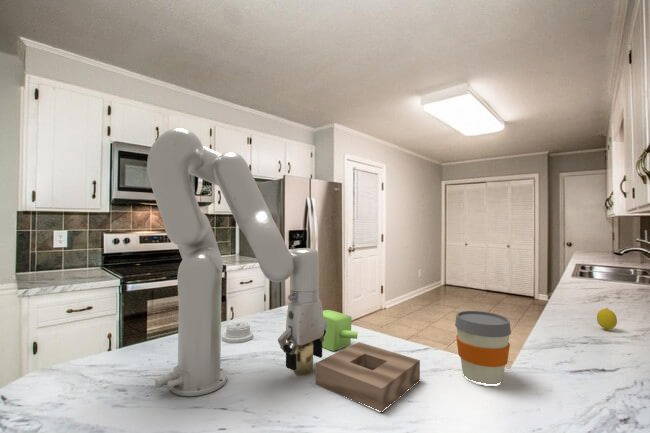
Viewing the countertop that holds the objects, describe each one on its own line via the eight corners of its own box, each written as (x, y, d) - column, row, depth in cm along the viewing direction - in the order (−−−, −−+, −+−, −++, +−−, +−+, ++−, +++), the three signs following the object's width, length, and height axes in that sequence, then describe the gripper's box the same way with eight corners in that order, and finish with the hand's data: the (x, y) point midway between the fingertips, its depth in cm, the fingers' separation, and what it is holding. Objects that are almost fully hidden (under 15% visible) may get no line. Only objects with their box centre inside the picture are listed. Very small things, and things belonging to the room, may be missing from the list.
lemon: (593, 328, 119) (593, 306, 119) (603, 327, 121) (603, 305, 121) (610, 333, 114) (610, 310, 114) (620, 332, 116) (620, 309, 116)
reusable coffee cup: (511, 373, 83) (511, 315, 83) (510, 396, 72) (510, 328, 73) (459, 362, 89) (459, 308, 90) (451, 381, 79) (451, 319, 79)
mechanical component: (217, 343, 102) (249, 344, 102) (218, 329, 103) (249, 330, 102) (227, 333, 112) (256, 333, 112) (227, 320, 113) (256, 320, 112)
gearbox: (365, 348, 100) (367, 318, 100) (344, 356, 93) (346, 323, 93) (323, 333, 113) (325, 306, 113) (302, 339, 106) (304, 310, 106)
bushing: (303, 377, 80) (303, 348, 80) (289, 371, 84) (289, 343, 84) (317, 370, 84) (317, 343, 84) (303, 364, 87) (303, 338, 87)
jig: (381, 413, 65) (381, 388, 65) (315, 383, 77) (315, 362, 77) (419, 380, 79) (419, 360, 79) (358, 359, 91) (358, 341, 91)
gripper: (289, 305, 75) (290, 379, 75) (336, 292, 88) (336, 355, 88) (269, 300, 80) (269, 369, 80) (316, 288, 93) (316, 348, 93)
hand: (304, 362), depth 84 cm, fingers open, 9 cm apart
